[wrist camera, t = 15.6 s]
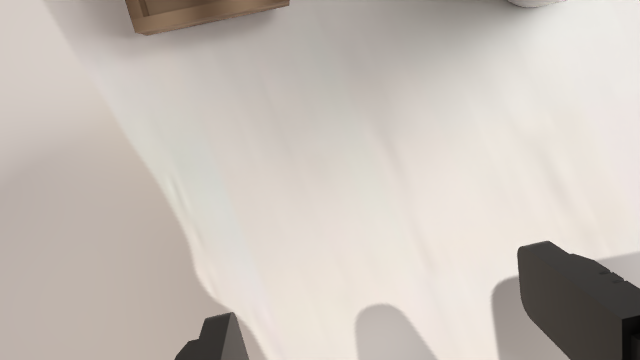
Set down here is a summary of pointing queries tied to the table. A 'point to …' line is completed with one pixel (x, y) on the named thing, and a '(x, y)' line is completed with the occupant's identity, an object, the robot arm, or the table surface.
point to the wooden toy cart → (190, 12)
